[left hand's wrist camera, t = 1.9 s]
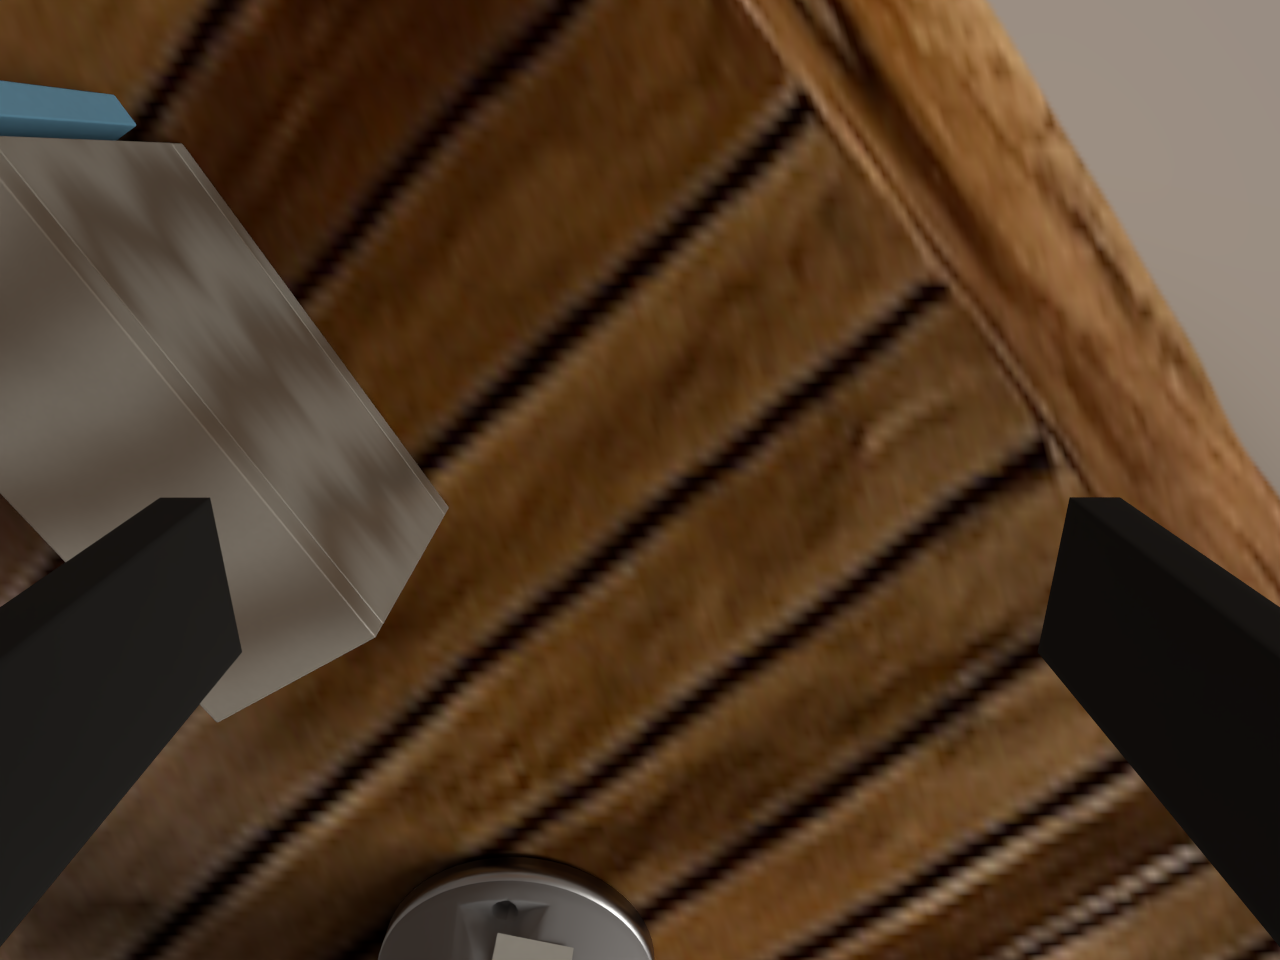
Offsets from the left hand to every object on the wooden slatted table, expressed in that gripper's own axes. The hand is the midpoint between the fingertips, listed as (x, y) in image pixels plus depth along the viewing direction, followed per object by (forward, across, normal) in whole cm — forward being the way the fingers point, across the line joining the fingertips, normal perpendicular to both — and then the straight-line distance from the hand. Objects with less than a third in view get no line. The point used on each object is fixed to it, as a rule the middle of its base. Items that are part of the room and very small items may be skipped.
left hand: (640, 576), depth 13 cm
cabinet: (+22, +16, +2) cm, 27 cm away
